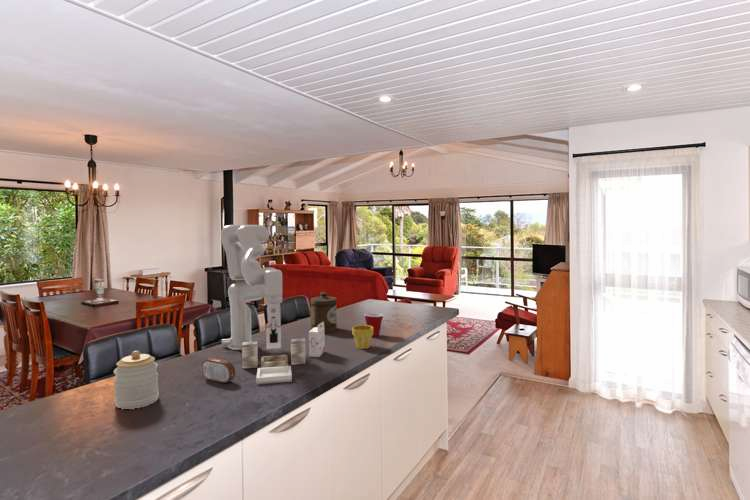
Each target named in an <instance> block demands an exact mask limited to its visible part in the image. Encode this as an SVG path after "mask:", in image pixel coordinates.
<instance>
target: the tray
mask: <svg viewBox="0 0 750 500" xmlns="http://www.w3.org/2000/svg"><path fill="white" fill-rule="evenodd" d="M292 373H293V372H292V365H288V366H280V367H267V368H261V367H257V372H256V379H255V380H256V383H255V384H256V385H267V384H278V383H289V382H290V383H291V382H292V381H293V378H292V377H293V374H292Z"/></svg>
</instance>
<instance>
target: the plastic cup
mask: <svg viewBox="0 0 750 500" xmlns="http://www.w3.org/2000/svg"><path fill="white" fill-rule="evenodd" d="M363 315H364V321H365V323H366V324H365V325H369V326H372V327H373V335H372V338H378V337H379V336H380V332H381V326H382V321H383V318H384V316H385V314H382V313H377V312H367V313H364V314H363Z"/></svg>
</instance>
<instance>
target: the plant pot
mask: <svg viewBox="0 0 750 500" xmlns="http://www.w3.org/2000/svg"><path fill="white" fill-rule="evenodd" d="M351 329H352V330H351V334H352V336H353V339H354V342H355V347H356V349H360V350H365V349H369V348H370V346H371V342H372V338H373V337H372V335H373V327H372V326H369V325H366V324H360V325H359V324H357V325H354V326H352V327H351Z"/></svg>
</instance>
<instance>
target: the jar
mask: <svg viewBox="0 0 750 500" xmlns="http://www.w3.org/2000/svg"><path fill="white" fill-rule="evenodd" d="M155 360H156V357H154V356H152V355H150V354H147V353H140V351H139V350H134V351H132V352H131V355H128V356H124V357H122V358H121V359H119V361H117V362H116V363H115V365H116V366H117V367H115V369H114V370H113V374H114V375H115V379H114V380H113V383H114V394H115V395H114V403H115V408H117V407H118V409H119V408H121V409H120V410H124V409H130V410H136V409H135V408H137V409H141V407H142V408H145V407H148V406H150V404H151V405H153V404H154V403H156V402H157V401H158V400H159V395H160V394H159V393H160V391H159V378H158V377H159V373H158V372H157V368H158V367H159V365H158V363H157V362H155Z"/></svg>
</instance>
